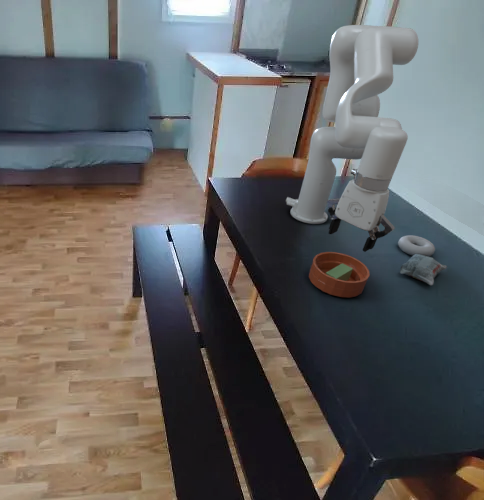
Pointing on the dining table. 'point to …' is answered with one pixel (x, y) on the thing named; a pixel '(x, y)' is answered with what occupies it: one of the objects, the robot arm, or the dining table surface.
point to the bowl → (336, 286)
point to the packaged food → (422, 268)
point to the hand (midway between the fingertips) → (349, 240)
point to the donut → (416, 245)
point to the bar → (340, 272)
